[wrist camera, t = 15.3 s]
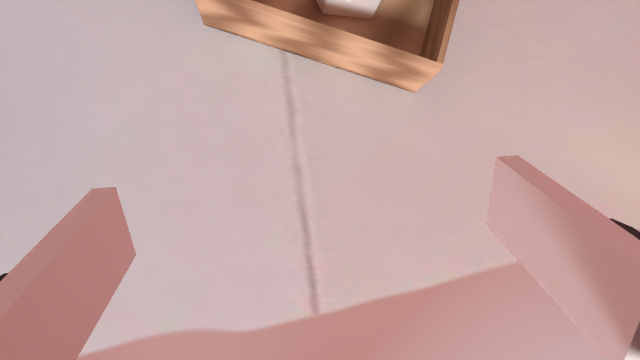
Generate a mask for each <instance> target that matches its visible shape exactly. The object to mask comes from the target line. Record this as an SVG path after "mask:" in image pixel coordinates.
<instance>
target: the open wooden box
mask: <svg viewBox="0 0 640 360" xmlns="http://www.w3.org/2000/svg"><path fill="white" fill-rule="evenodd" d="M195 1H196V4H197V6H198V9H199V12H200V14H201V17H202V20H203V23H204V25H207V26H210V27H213V28H216V29H219V30H222V31H225V32H228V33H231V34H235V35H238V36H241V37H244V38H247V39H250V40H253V41H256V42H259V43H262V44H265V45H268V46H272V47H275V48H278V49H281V50H284V51H287V52H290V53H293V54H296V55H299V56H302V57H306V58H309V59H312V60H315V61H318V62H321V63H324V64H327V65H330V66H333V67H336V68H340V69H343V70H346V71H349V72H352V73H355V74H358V75H361V76H364V77H367V78H370V79H373V80H377V81H380V82H383V83H386V84H389V85H392V86H395V87H398V88H401V89H404V90H407V91H411V92H416V91H417V90H418V89H419V88H420V87H422V86H423V85H424V84H425V83H426V82H427V81H429V80H430V79H431V78H432V77H433V76H435V75H436V74H437V73H438V72H439V71H440V70H441V69H442V65H443V61H444V57H445V53H446V50H447V46H448V42H449V38H450V34H451V30H452V26H453V22H454V18H455V15H456V11H457V7H458V3H459V0H384V1H383V3H382V4H381V6H380V7H379V9H378V10H377V12H376V13H375V15H374V16H373V18H371V19H366V18H357V17H347V16H337V15H328V14H323V13H322V11H321V9H320V7H319V5H318V3H317V1H316V0H195Z"/></svg>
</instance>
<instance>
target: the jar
mask: <svg viewBox="0 0 640 360" xmlns="http://www.w3.org/2000/svg"><path fill="white" fill-rule="evenodd" d="M316 1H317V3H318V5H319V7H320V9H321V11H322V13H323V14H328V15H337V16H347V17H357V18H366V19H371V18H373V16H374V15H375V13H376V12H377V10H378V9H379V7H380V6H381V4H382V3H383V1H384V0H316Z"/></svg>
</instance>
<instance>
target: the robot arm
mask: <svg viewBox="0 0 640 360" xmlns="http://www.w3.org/2000/svg"><path fill="white" fill-rule="evenodd" d="M486 224H487V225H488V227H489V228H490V229H491V230H492V231H493V232H494V233H495V235H496V236H497V237H498V238H499V239H500V240H501V241H502V243H503V244H504V245H505V246H506V247H507V248H508V249H509V251H510V252H511V253H512V254H513V255H514V256H515V257H516V259H517V260H518V261H519V262H520V263H521V264H522V265H523V266H524V268H525V269H526V270H527V271H528V272H529V273H530V275H531V276H532V277H533V278H534V279H535V280H536V281H537V282H538V283H539V285H540V286H541V287H542V288H543V289H544V290H545V292H546V293H547V294H548V295H549V296H550V297H551V298H552V300H553V301H554V302H555V303H556V304H557V305H558V306H559V308H560V309H561V310H562V311H563V312H564V313H565V314H566V316H567V317H568V318H569V319H570V320H571V321H572V322H573V323H574V325H575V326H576V327H577V328H578V329H579V330H580V332H581V333H582V334H583V335H584V336H585V337H586V338H587V340H588V341H589V342H590V343H591V344H592V345H593V346H594V348H596V350H597V351H598V352H599V353H600V354H601V355H602V357H604V359H605V360H640V232H639V231H637V230H636V229H634V228H633V227H630V226H628V225H626V224H623V223H621V222H619V221H616V220H614V219H609V218H607V217H606V216H604V215H603V214H601V213H600V212H598V211H597V210H596V209H594V208H593V207H591V206H590V205H588V204H587V203H585V202H584V201H583V200H581V199H580V198H578V197H577V196H575V195H574V194H572V193H571V192H570V191H568V190H567V189H565V188H564V187H562V186H561V185H559V184H558V183H557V182H555V181H554V180H552V179H551V178H549V177H548V176H546V175H545V174H544V173H542V172H541V171H539V170H538V169H536V168H535V167H533V166H532V165H531V164H529V163H528V162H526V161H525V160H523V159H522V158H520V157H519V156H518V155H516V156H503V157H496V162H495V169H494V175H493V182H492V189H491V195H490V202H489V208H488V215H487V221H486ZM135 256H136V253H135V249H134V246H133V243H132V239H131V236H130V233H129V229H128V226H127V223H126V220H125V216H124V213H123V210H122V206H121V203H120V200H119V197H118V193H117V190H116V187H110V188H97V189H92V190H91V191H90V192H89V193H88V194H87V195H86V196H85V197H84V198H83V199H82V200H81V201H80V202H79V203H78V204H77V205H76V206H75V207H74V208H73V209H72V210H71V211H70V212H69V213H68V214H67V215H66V216H65V217H64V218H63V219H62V220H61V221H60V222H59V223H58V224H57V225H56V226H55V227H54V228H53V229H52V230H51V231H50V232H49V233H48V234H47V235H46V236H45V237H44V238H43V239H42V240H41V241H40V242H39V243H38V244H37V245H36V246H35V247H34V248H33V249H32V250H31V251H30V252H29V253H28V254H27V255H26V256H25V257H24V258H23V259H22V260H21V261H20V262H19V263H18V264H17V265H16V266H15V267H14V268H13V269H12V270H11V271H10V272H9V273H6V274H3V275H1V276H0V360H76V359H77V357H78V355H79V354H80V352H81V350H82V348H83V347H84V345H85V343H86V341H87V340H88V338H89V336H90V334H91V333H92V331H93V329H94V327H95V326H96V324H97V322H98V320H99V319H100V317H101V315H102V313H103V312H104V310H105V308H106V306H107V305H108V303H109V301H110V299H111V298H112V296H113V294H114V292H115V291H116V289H117V287H118V285H119V284H120V282H121V280H122V278H123V277H124V275H125V273H126V271H127V270H128V268H129V266H130V264H131V263H132V261H133V259H134V257H135Z"/></svg>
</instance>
